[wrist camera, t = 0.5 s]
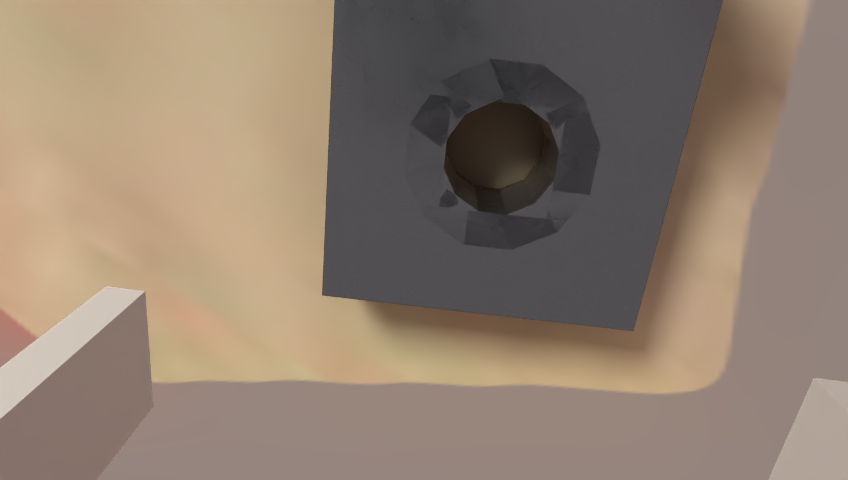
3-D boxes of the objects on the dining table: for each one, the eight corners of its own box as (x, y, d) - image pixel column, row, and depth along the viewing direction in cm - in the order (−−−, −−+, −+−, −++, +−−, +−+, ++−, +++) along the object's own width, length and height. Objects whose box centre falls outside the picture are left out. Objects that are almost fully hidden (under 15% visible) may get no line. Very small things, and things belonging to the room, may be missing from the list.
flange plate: (354, -41, 31) (336, -52, 26) (683, -5, 31) (725, -10, 26) (338, 261, 37) (322, 295, 33) (610, 292, 37) (633, 330, 32)
